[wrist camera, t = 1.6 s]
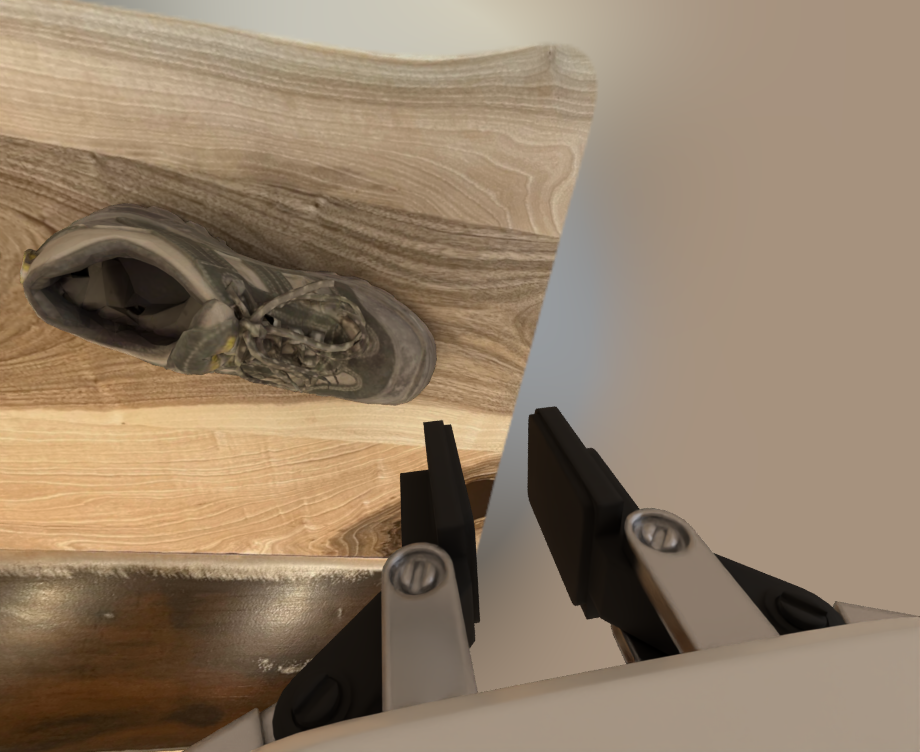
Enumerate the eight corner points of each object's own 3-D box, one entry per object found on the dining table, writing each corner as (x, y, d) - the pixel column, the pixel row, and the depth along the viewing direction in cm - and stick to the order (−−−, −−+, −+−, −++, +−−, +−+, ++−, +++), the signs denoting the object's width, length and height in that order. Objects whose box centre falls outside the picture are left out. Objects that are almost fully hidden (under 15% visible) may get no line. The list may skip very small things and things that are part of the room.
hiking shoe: (401, 444, 31) (427, 459, 20) (88, 340, 27) (-110, 281, 16) (442, 327, 33) (489, 277, 21) (152, 213, 29) (15, 74, 17)
